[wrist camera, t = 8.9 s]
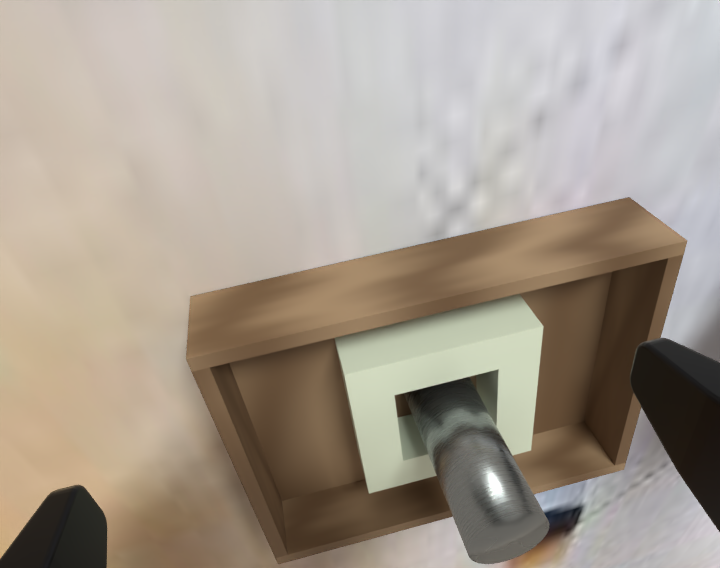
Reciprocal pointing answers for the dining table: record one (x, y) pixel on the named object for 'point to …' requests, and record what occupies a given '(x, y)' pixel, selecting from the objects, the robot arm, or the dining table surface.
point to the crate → (331, 409)
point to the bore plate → (439, 380)
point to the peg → (477, 473)
